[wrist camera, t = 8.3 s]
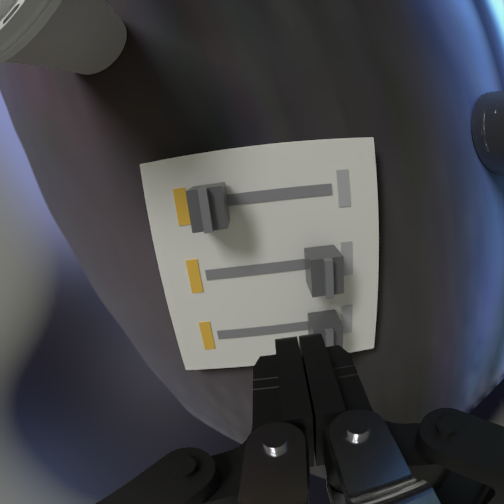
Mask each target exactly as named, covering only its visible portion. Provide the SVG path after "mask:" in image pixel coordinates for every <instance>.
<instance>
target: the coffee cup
mask: <svg viewBox="0 0 504 504" xmlns="http://www.w3.org/2000/svg"><path fill="white" fill-rule="evenodd" d="M126 39H127V31H126V27H125V25H124V23H123V22H122V20H121V19H120V18H119V16H118V15H117V14H116V13H115V11H114V10H113V9H112V8H111V6H110V5H109V4H108V2H107V1H106V0H0V64H1V63H3V62H11V63H19V64H27V65H34V66H41V67H47V68H53V69H59V70H64V71H69V72H74V73H79V74H85V75H90V74H95V73H98V72H101V71H103V70H104V69H106V68H107V67H109V66H110V65H111V64H112V63H113V62H114V61H115V60H116V59H117V58H118V57H119V55H120V54H121V52H122V50H123V48H124V46H125V43H126Z"/></svg>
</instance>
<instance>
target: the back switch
mask: <svg viewBox="0 0 504 504" xmlns="http://www.w3.org/2000/svg"><path fill="white" fill-rule="evenodd" d="M307 314H308V334H315V333H321V334H322V337H323V340H324V343H325V346H326V347H330V346H335V345H340V346H341V347H342V348H343V325H342V323H341V321H340V319H339V317H338V314H337V312H336V310H335V309H333V310H326V311H319V312H312V313H307Z"/></svg>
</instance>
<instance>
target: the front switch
mask: <svg viewBox="0 0 504 504" xmlns="http://www.w3.org/2000/svg"><path fill="white" fill-rule="evenodd" d="M186 198H187V204H188V210H189V216H190V222H191V228H192V233H198V232H204V234H206V233H213V232H214V230H222V229H228V226H229V223H230V213H229V206H228V199H227V192H226V184H225V182H221V183H214V184H207V185H200V186H193V187H192V188H190V189H188V190H186Z"/></svg>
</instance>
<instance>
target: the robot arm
mask: <svg viewBox="0 0 504 504" xmlns="http://www.w3.org/2000/svg"><path fill="white" fill-rule="evenodd" d="M471 131H472V137H473V142H474V145H475V149H476V151H477V153H478V156H479V158H480V159H481V161H482V162H483V164H484V165H485V166H486V167H487V168H488V169H489V170H490V171H492V172H493V173H495V174H498V175H502V176H504V91H497V92H490V93H486V94H484V95H482V96H481V97H480V98H479V99H478V100H477V102H476V104H475V105H474V109H473V112H472V119H471ZM275 348H276V354H275V355H267V356H260V357H259V359H258V360H257V362H256V364H255V365H254V367H253V426H252V431H251V433H250V435H249V436H248V438H247V440H246V441H245V442H244V443H243V444H242V445H240V446H239V447H237V448H235V449H233V450H230V451H227V452H224V453H220V454H217V455H213V456H210V455H209V454H208V453H207V452H205V451H203V450H201V449H198V448H190V447H187V448H181V449H177V450H174V451H172V452H170V453H169V454H167V455H165V456H164V457H163V458H161V459H160V460H159V461H158V462H156V463H155V464H154V465H152V466H151V467H149V468H148V469H147V470H145V471H144V472H142V473H141V474H140V475H138V476H137V477H135V478H134V479H132V480H131V481H129V482H128V483H127V484H125V485H124V486H122V487H121V488H119V489H118V490H116V491H115V492H113V493H112V494H110V495H109V496H107V497H105V498H104V499H103V500H101V501H99V502H98V503H96V504H308V489H309V486H310V469H309V467H313V466H314V454H315V460H316V466H319V465H325V469H326V474H327V484H326V485H327V490H328V494H329V497H330V501H331V504H504V427H503V426H500V425H497V424H495V423H491V422H489V421H486V420H483V419H480V418H478V417H475V416H472V415H470V414H467V413H464V412H462V411H459V410H456V409H452V408H440V409H436V410H434V411H432V412H430V413H429V414H427V415H426V416H425V417H424V418H423V420H422V422H421V423H413V424H396V423H391V422H388V421H385V420H383V418H382V417H381V416H380V415H378V414H377V413H375V412H373V410H372V408H371V406H370V403H369V401H368V398H367V396H366V393H365V391H364V388H363V386H362V383H361V381H360V378H359V376H358V375H357V371H356V368H355V366H354V364H353V361H352V359H351V356H350V354H349V353H348V352H347V351H346V350H345V349H343V348H342V347H341V346H340V345H335V346H330V347H326V346H325V343H324V340H323V337H322V334H321V333H315V334H308V335H301V336H299V343H298V338H297V336H295V337H287V338H280V339H275Z"/></svg>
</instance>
